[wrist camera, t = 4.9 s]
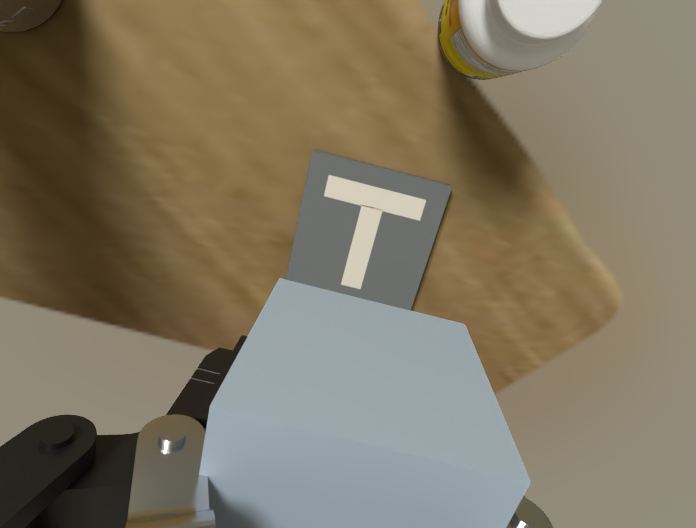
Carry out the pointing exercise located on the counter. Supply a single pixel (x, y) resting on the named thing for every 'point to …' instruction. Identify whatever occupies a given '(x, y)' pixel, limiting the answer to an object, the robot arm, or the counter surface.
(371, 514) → the blue block
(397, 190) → the board
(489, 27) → the supplement bottle
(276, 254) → the counter surface
